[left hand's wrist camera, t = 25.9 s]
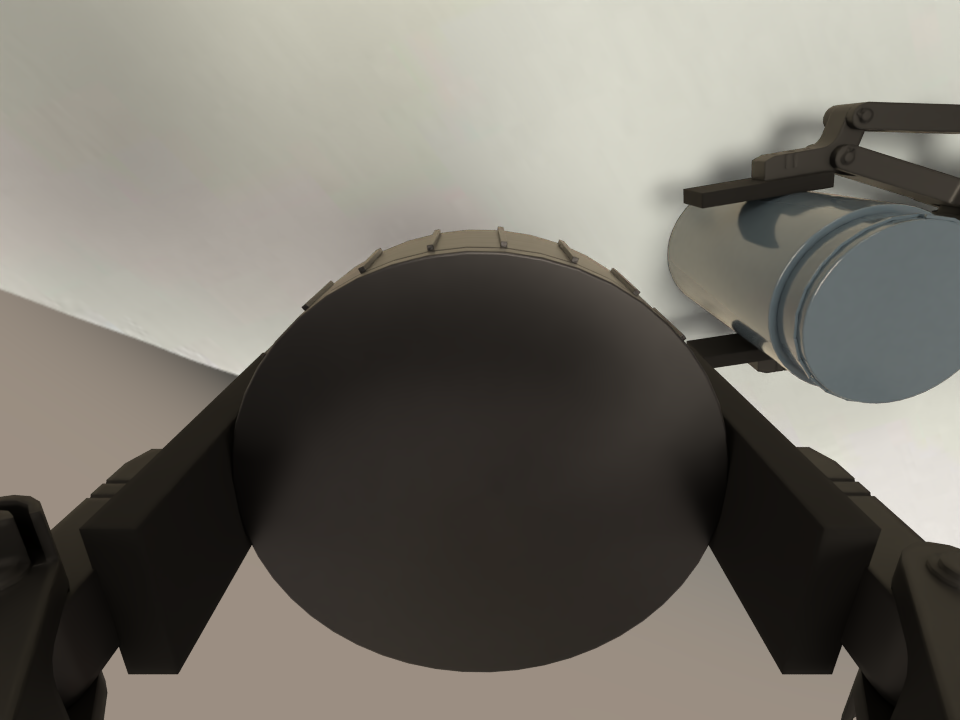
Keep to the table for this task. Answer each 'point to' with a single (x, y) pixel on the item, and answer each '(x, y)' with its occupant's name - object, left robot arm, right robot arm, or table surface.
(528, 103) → the table surface
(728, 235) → the jar
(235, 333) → the table surface
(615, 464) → the lid
